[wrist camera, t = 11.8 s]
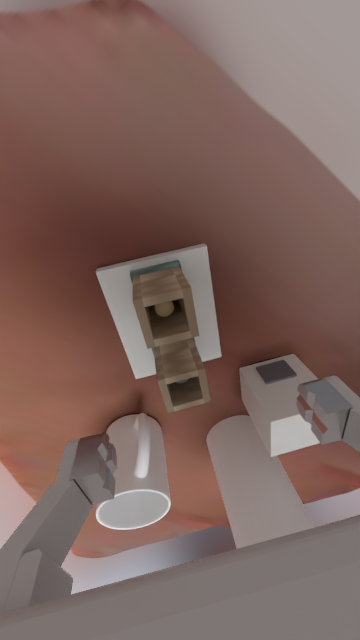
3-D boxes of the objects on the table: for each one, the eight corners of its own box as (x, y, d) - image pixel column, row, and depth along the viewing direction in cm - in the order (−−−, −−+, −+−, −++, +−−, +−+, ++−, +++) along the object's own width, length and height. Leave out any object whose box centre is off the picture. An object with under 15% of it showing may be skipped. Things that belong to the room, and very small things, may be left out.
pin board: (203, 243, 25) (223, 258, 20) (218, 351, 32) (236, 384, 27) (97, 268, 24) (86, 291, 19) (135, 372, 31) (136, 411, 26)
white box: (293, 351, 34) (341, 400, 26) (291, 386, 38) (333, 439, 30) (238, 366, 34) (270, 420, 26) (241, 400, 37) (270, 457, 29)
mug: (112, 389, 32) (105, 468, 23) (173, 394, 34) (188, 467, 25) (101, 449, 37) (91, 532, 28) (155, 450, 39) (161, 527, 30)
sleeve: (177, 259, 24) (193, 284, 18) (186, 302, 26) (202, 337, 20) (130, 270, 24) (128, 299, 18) (142, 313, 26) (145, 351, 20)
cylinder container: (198, 430, 39) (331, 926, 13) (253, 406, 38) (507, 871, 12) (216, 460, 43) (341, 868, 17) (265, 439, 43) (470, 826, 17)
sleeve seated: (190, 327, 28) (206, 365, 22) (197, 359, 30) (213, 402, 24) (149, 337, 28) (154, 379, 22) (159, 369, 30) (166, 415, 24)
